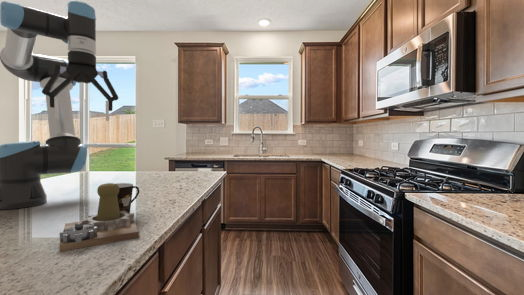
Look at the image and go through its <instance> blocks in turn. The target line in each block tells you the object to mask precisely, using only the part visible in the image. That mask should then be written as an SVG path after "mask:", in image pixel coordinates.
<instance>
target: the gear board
mask: <svg viewBox="0 0 524 295" xmlns="http://www.w3.org/2000/svg"><path fill="white" fill-rule="evenodd" d="M120 217H121V218H119V219H115V220H109V221H97V214H90V215H88V217H87V218H86V219H81V221H75V222H68V223H65V224H64V227H63V231H64V229H66V228H70V227H73V226H75V224H76V223H83V225H94V227H96V226H97V235H95V236H94V238H92V239H87V240H83V241H82V242H77V243H76V242H69V243H63V241H60V240H59V244H58V245H59V246H58V248H59V249H58V250H59V252H63V251H70V250H75V249H81V248H86V247H92V246H98V245H102V244H108V243H116V242H120V241H127V240H131V239H137V238H138V239H139V237H140V230H139V229H138V227H137V225H136V222H135V213H134V212H130V213H129V214H128V213H127V211H121V212H120Z"/></svg>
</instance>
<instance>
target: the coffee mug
mask: <svg viewBox="0 0 524 295" xmlns="http://www.w3.org/2000/svg"><path fill="white" fill-rule="evenodd" d="M116 184H117V185H118V186H119V193H118V195H117V198H118V204H119V211H120V212H121V211H127V213H128V214H129V213H131V206H132V204H133V202H134V201H135V200H136V199H137V197H138V196H139V194H140V188H139V187H138V186H136V185H134V184H133V183H127V182H124V183H123V182H117V183H116ZM134 189H136V192H137V193H136V194H135V196H134V197H133V190H134ZM132 197H133V198H132Z"/></svg>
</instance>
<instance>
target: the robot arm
mask: <svg viewBox="0 0 524 295" xmlns="http://www.w3.org/2000/svg"><path fill="white" fill-rule="evenodd" d="M66 7H67V8H66V17H65V16H62V15H58V14H54V13H51V12H46V11H43V10H39V9H37V8H33V7H29V6H26V5H22V4H20V3H16V2H15V3H14V2H10V1H6V0H5V1H4V0H3V1H1V2H0V25H1V26H3V28H6V29H7V30H6V36H5V43H4V47H3V48H2V49H1V50H0V63H1V64H2V66H3V67H4V68H5V70H6V71H7V72H9V73H11V74H12V75H13V76H15V77H18V78H19V79H21V80H24V81H28V82H34V83H39V86H40V88H41V89H42V90H41V92H42V94H43V95H45V100H46V101H45V102H46V111H47V121H48V122H47V123H48V131H49V132H48V133H49V137H48V138H47V139H45V143H44V144H43V143H42V144H41V141H40V140H29V141H19V142H18V141H17V142H9V143H3V144H0V210H15V209H23V208H24V209H25V208H29V207H34V206H40V205H43V204H45V203H47V202H48V198H47V194H46V191H45V188H44V186H43V185H42V182H41V176H42V175H53V174H54V175H55V174H56V175H57V174H68V173H69V174H71V173H79V172H82V171H83V170H84V168H85V166H86V162H87V158H88V147H87V145H86V144H85V143H82V142H81V138H80V137H78V136H76V130H75V122H74V121H75V120H74V116H73V115H74V114H73V106H72V100H71V99H72V98H71V90H73V87H75V86H76V84H77V83H78V84H79V83H80V84H81V83H83V84H90V83H91V84H92V85H93V86H94V87H95V88H96V89H97V90H98V91H99V92H100V93H101V95H102V96H103V97H104V98H105V99H106V100H105V121H106V122H109V120H110V118H109V117H110V116H109V113H110V112H112V111H113V102H115V101H118V100H119V96H118V94H117V92H116V90H115V87H113V85H112V83H111V82H110V80H109V77H108V76H109V75H108V72H107V71H106V70H102V71H100V70H99V71H98V69H97V57H96V54H97V42H96V38H97V37H96V36H97V35H96V31H97V29H96V25H97V24H96V23H97V22H96V21H97V18H96V10H95V8H94V7H93V6H92V5H90V4H89V3H87V2H84V1H79V0H70V1H68V3H67V6H66ZM38 36H41V37H46V38H47V37H48V38H52V39H56V40H60V41H62V42H63V43H65V44H67V51H68V52H67V59H64V58H61V57H52V56H48V55H43V54H36V53H33V52H34V50H35V45H36V42H37V39H38ZM98 76H99V77H100V78H101V79H102V80H103V82H104V83H105V86H106V87H107V89H108V90H109V92H107V91H106V90H105V88H104V87H103V86H102V85H101V84H100V83H99V82H98V81H97V79H96V78H97V77H98ZM109 93H110V94H109Z"/></svg>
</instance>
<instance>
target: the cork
mask: <svg viewBox="0 0 524 295" xmlns="http://www.w3.org/2000/svg"><path fill="white" fill-rule="evenodd" d="M96 190H97V192H96V193H97V194H98V195H97V196H99V202H98V208H97V214H96V215H97V221H109V220H115V219H119V218H121V217H120V211H119V204H118V198H117V195H118V193H119V186H118V185H117V183H114V182H113V183H112V182H111V183H110V182H109V183H107V182H106V183H103V184H100V185H99V186H97V189H96Z"/></svg>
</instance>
